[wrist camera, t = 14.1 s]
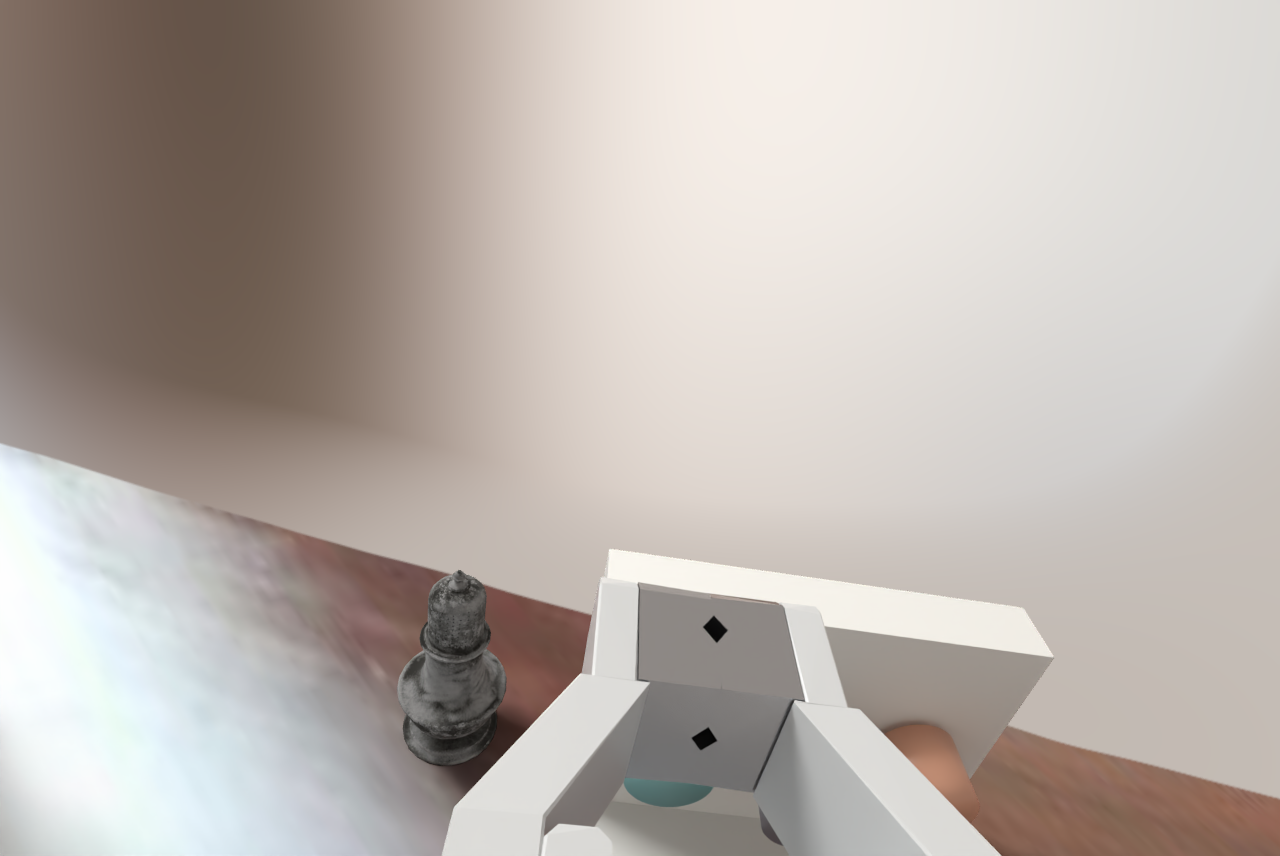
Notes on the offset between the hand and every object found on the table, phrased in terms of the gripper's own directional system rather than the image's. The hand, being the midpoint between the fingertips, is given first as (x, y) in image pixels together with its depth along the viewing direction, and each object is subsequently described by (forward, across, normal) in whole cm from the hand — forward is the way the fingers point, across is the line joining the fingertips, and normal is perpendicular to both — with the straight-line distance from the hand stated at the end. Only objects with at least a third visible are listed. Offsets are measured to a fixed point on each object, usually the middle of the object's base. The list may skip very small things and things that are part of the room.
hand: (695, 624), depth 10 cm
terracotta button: (+13, +16, -23) cm, 31 cm away
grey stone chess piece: (+19, -7, -30) cm, 36 cm away
